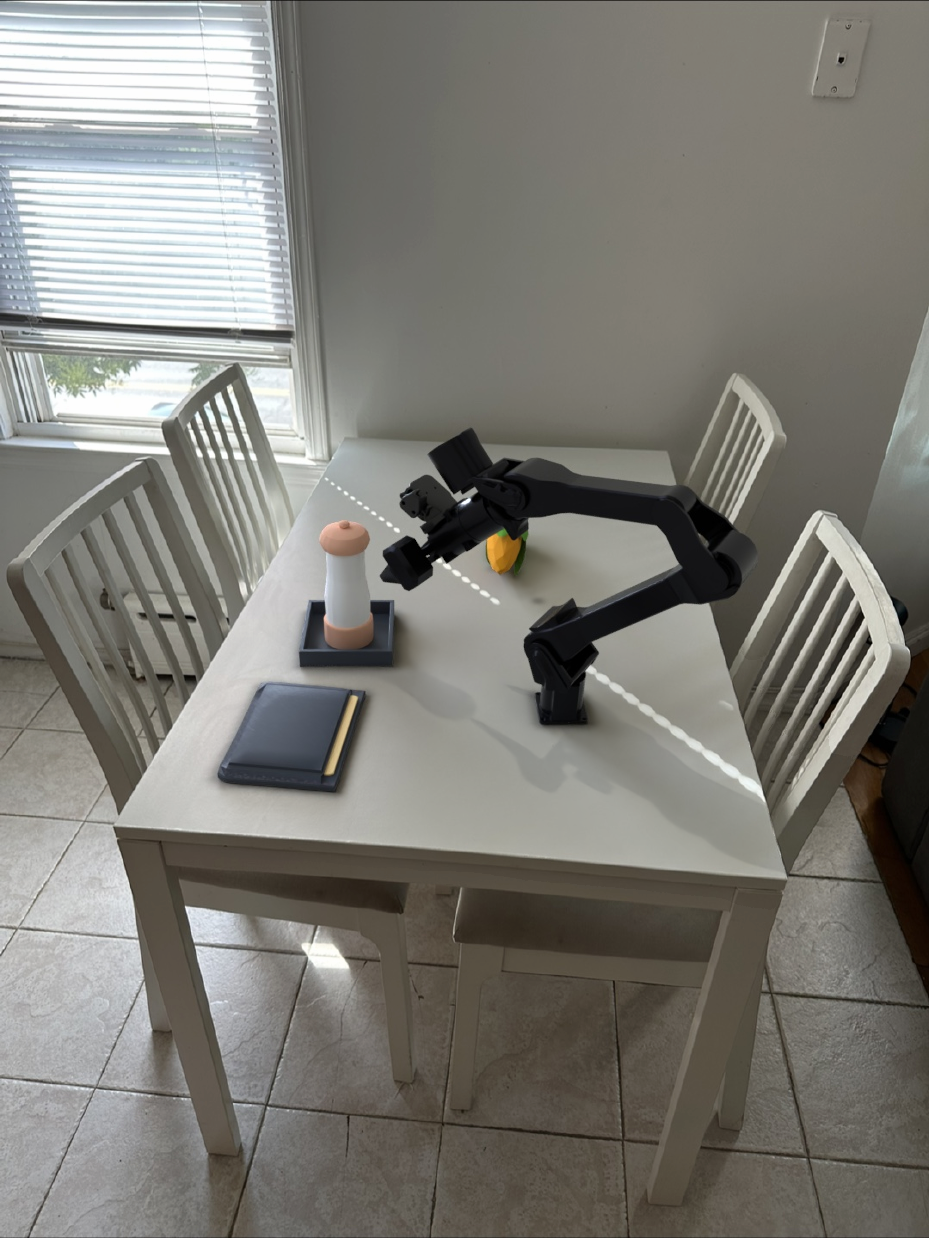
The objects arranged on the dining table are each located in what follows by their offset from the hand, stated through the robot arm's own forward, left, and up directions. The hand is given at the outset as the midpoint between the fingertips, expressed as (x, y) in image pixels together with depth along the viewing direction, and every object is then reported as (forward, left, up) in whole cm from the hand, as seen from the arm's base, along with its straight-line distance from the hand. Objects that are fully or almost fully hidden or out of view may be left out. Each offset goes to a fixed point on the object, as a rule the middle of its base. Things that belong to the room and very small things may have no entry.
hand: (401, 565), depth 129 cm
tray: (+3, +8, -14) cm, 16 cm away
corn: (+27, -18, -14) cm, 35 cm away
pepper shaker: (+3, +8, -14) cm, 16 cm away
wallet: (-20, +13, -14) cm, 28 cm away
